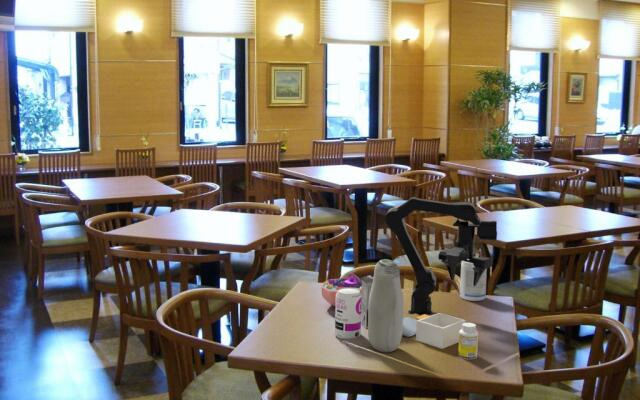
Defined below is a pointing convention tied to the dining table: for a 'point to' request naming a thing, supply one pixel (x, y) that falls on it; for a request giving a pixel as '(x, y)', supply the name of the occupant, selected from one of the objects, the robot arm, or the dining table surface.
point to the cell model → (339, 287)
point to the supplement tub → (467, 285)
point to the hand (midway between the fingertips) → (463, 283)
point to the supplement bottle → (468, 341)
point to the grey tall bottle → (385, 307)
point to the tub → (439, 330)
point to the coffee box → (365, 299)
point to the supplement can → (348, 313)
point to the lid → (410, 325)
